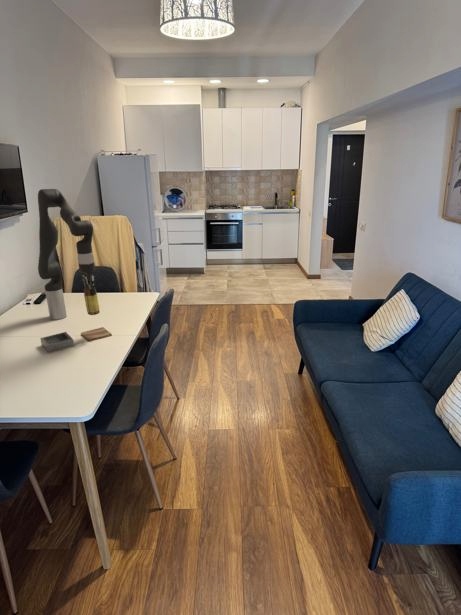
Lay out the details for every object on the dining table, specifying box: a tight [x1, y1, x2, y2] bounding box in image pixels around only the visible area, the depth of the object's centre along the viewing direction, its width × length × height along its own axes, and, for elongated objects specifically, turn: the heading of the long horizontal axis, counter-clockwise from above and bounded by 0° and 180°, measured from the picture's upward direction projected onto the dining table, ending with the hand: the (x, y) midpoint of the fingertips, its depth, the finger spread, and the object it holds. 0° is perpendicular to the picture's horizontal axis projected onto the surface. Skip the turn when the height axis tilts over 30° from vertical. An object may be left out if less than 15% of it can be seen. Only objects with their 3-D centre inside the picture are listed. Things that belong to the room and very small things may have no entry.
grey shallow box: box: [40, 331, 75, 354], centre depth 204 cm, size 11×12×4 cm
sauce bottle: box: [83, 277, 101, 316], centre depth 209 cm, size 6×6×20 cm
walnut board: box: [80, 326, 113, 342], centre depth 217 cm, size 12×12×1 cm
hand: (90, 293), depth 209 cm, fingers closed on sauce bottle, 6 cm apart
